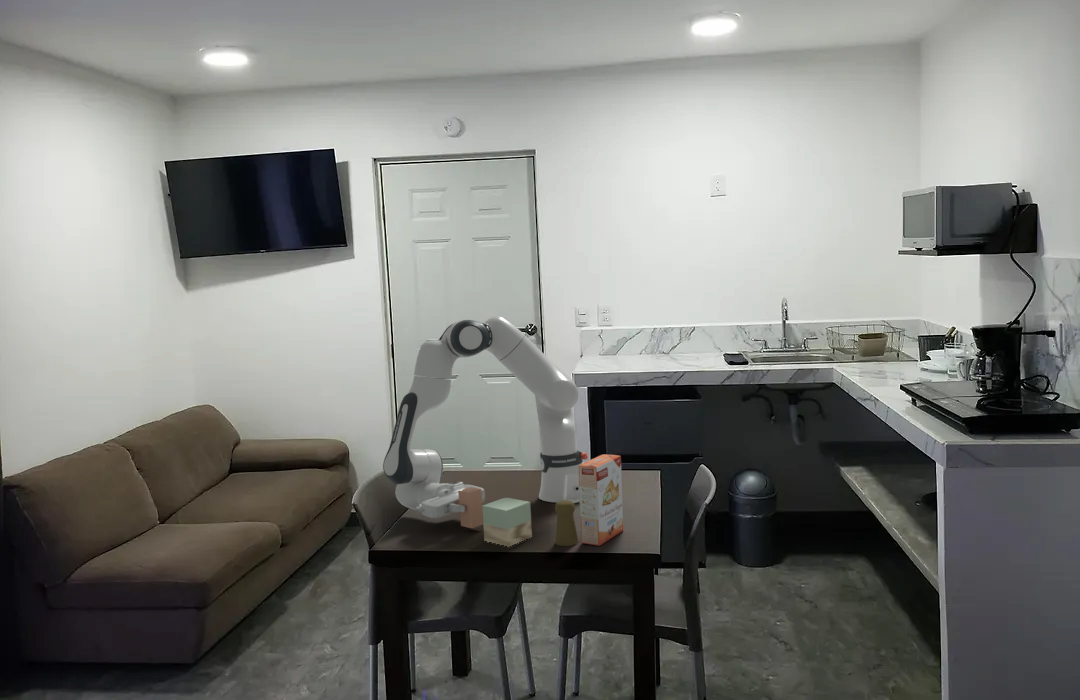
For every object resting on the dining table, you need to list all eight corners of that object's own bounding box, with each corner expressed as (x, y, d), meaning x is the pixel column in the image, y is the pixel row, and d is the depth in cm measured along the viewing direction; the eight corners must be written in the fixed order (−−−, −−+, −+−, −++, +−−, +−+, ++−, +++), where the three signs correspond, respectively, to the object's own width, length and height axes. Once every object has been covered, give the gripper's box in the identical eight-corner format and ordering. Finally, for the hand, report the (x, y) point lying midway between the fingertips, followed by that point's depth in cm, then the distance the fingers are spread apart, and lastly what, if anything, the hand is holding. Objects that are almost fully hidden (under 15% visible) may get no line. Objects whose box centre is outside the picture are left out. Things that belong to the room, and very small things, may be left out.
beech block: (507, 532, 231) (506, 515, 231) (532, 538, 225) (530, 520, 225) (484, 542, 225) (483, 523, 224) (509, 548, 219) (508, 529, 218)
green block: (506, 515, 231) (505, 497, 230) (531, 520, 225) (530, 501, 224) (483, 523, 224) (482, 505, 224) (507, 529, 218) (506, 510, 218)
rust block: (472, 521, 237) (469, 486, 236) (483, 523, 234) (481, 488, 233) (461, 525, 234) (458, 490, 233) (472, 528, 231) (469, 493, 230)
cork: (554, 539, 223) (551, 498, 222) (576, 537, 223) (574, 497, 222) (556, 547, 217) (554, 505, 216) (579, 545, 217) (577, 503, 216)
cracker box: (601, 547, 215) (597, 466, 213) (580, 544, 218) (576, 465, 216) (625, 530, 227) (621, 454, 224) (605, 528, 230) (601, 453, 228)
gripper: (410, 497, 234) (444, 504, 225) (463, 480, 249) (497, 485, 240) (412, 519, 235) (446, 527, 226) (465, 500, 250) (499, 507, 241)
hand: (473, 505), depth 233 cm, fingers closed on rust block, 4 cm apart
